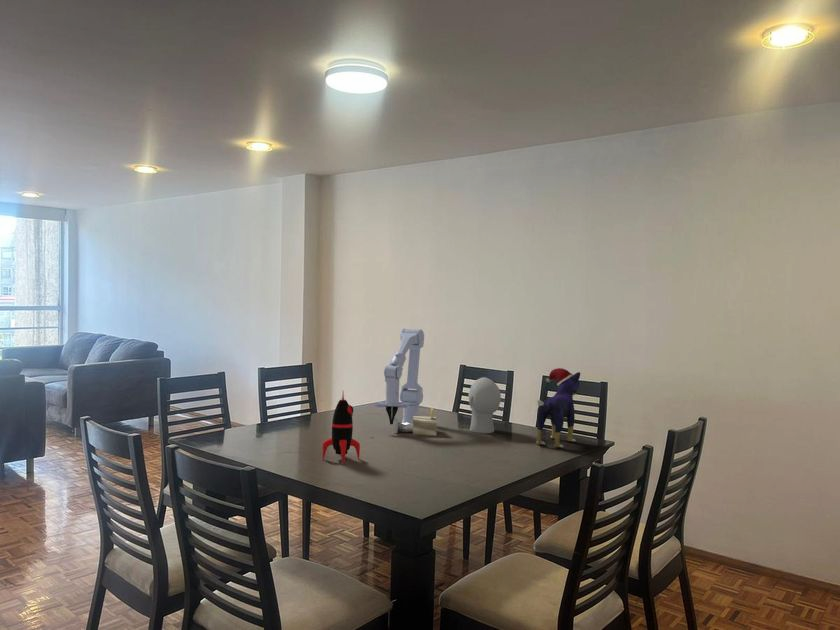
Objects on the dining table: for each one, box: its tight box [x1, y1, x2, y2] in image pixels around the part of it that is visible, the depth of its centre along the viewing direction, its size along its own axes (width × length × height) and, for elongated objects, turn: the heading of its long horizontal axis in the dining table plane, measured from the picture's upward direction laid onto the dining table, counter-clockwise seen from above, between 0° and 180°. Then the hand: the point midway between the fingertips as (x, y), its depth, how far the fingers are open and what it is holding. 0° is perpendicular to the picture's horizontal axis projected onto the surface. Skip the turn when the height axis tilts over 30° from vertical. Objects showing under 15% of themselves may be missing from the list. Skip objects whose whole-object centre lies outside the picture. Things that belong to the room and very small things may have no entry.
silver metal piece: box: [393, 416, 413, 434], centre depth 271 cm, size 7×14×6 cm, turn 91°
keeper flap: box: [430, 407, 434, 420], centre depth 271 cm, size 6×1×4 cm, turn 1°
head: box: [467, 376, 502, 434], centre depth 279 cm, size 14×18×25 cm
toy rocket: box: [322, 391, 361, 464], centre depth 223 cm, size 10×10×25 cm
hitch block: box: [412, 415, 438, 436], centre depth 272 cm, size 10×10×6 cm
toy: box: [536, 367, 581, 449], centre depth 259 cm, size 16×40×30 cm, turn 146°
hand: (391, 423), depth 271 cm, fingers closed
